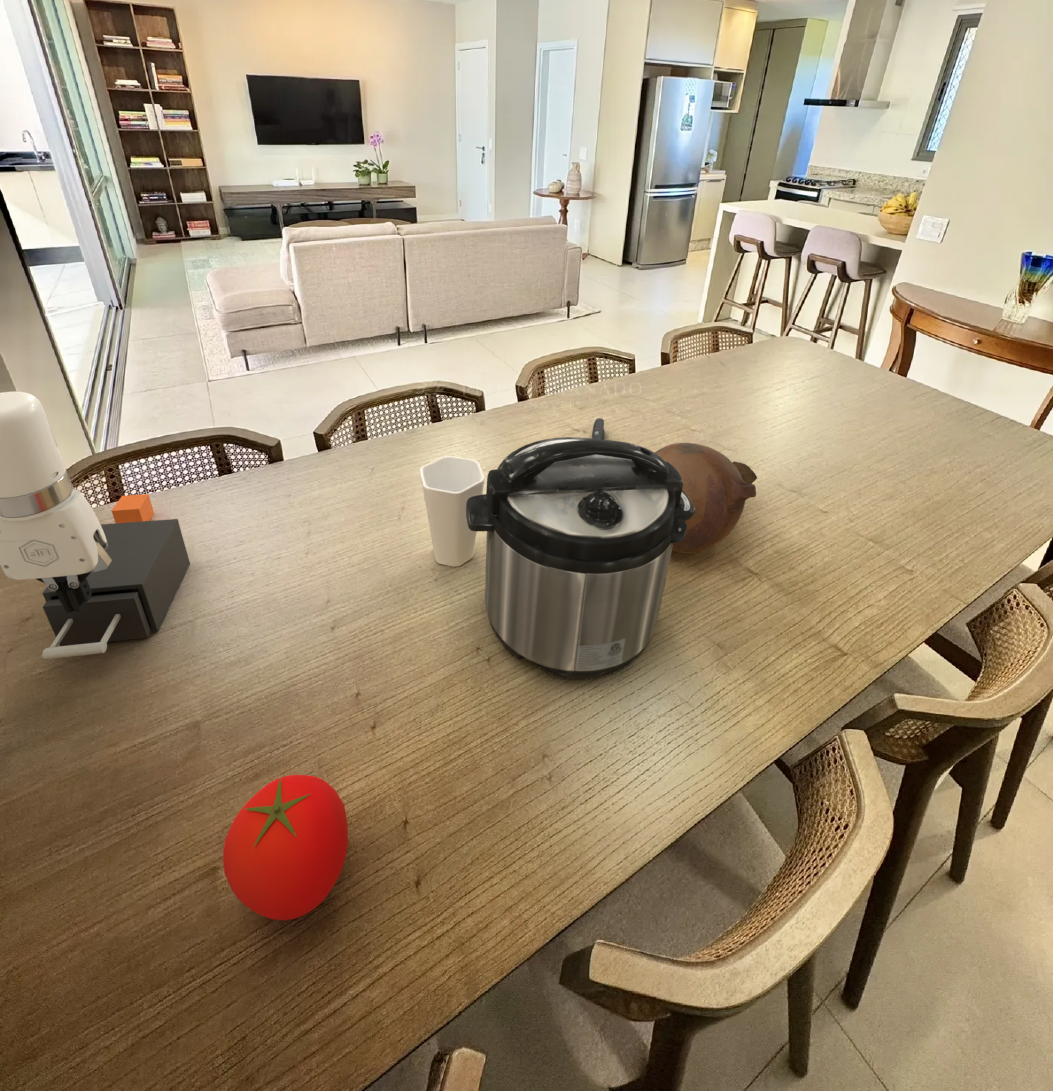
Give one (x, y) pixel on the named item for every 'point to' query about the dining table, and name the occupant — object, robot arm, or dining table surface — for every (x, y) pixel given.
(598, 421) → the can opener
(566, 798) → the dining table surface
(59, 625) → the drawer
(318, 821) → the tomato
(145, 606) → the dark grey cabinet
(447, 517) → the cup
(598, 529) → the pressure cooker
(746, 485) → the jug
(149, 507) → the block
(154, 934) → the dining table surface
